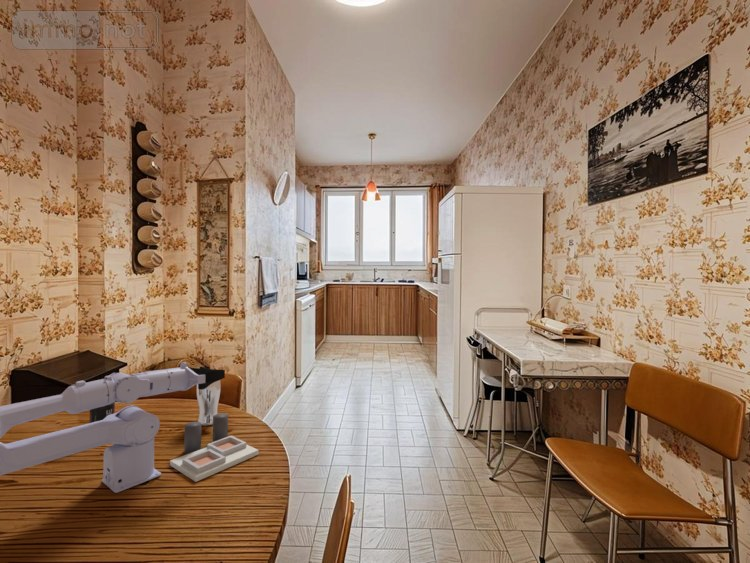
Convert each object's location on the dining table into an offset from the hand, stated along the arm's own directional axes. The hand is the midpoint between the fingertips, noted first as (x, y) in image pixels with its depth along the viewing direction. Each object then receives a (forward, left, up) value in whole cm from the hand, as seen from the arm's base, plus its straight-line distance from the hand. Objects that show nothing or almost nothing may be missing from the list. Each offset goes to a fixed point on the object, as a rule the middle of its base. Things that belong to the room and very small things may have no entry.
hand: (215, 373), depth 103 cm
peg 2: (+3, +3, -20) cm, 21 cm away
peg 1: (-5, +3, -20) cm, 21 cm away
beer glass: (+8, +18, -21) cm, 28 cm away
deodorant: (-16, +33, -21) cm, 42 cm away
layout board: (-4, -7, -20) cm, 22 cm away
